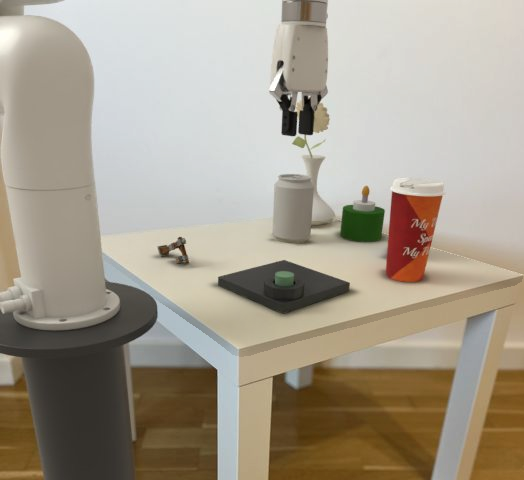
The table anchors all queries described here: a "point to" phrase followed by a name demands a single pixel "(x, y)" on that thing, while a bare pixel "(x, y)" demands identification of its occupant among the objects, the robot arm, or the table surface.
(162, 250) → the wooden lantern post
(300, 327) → the table surface
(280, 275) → the button
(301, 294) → the dark grey flat block
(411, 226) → the coffee cup
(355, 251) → the table surface
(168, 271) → the table surface
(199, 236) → the table surface
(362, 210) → the candle
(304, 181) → the can
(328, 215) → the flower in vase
